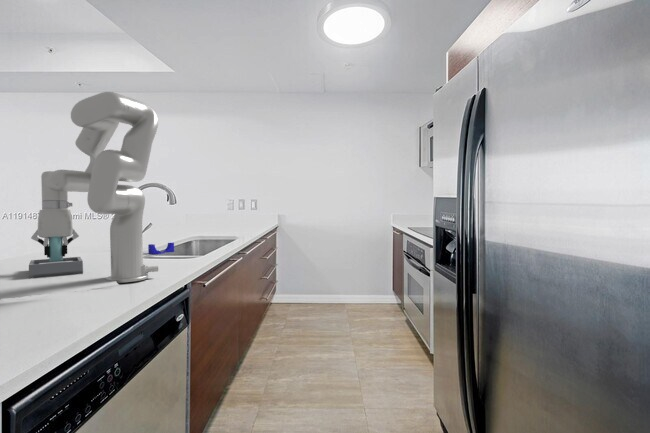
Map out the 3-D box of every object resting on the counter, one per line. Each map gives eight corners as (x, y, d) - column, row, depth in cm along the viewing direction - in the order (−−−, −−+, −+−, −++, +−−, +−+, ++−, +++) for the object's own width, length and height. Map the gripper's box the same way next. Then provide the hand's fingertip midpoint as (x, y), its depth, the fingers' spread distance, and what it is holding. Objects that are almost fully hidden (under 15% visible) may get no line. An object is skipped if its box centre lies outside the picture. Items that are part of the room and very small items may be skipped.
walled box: (80, 268, 145) (80, 256, 145) (82, 273, 132) (82, 260, 132) (31, 272, 136) (31, 260, 136) (29, 278, 123) (28, 265, 123)
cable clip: (153, 257, 179) (153, 244, 179) (148, 256, 182) (148, 244, 182) (175, 254, 189) (175, 242, 189) (170, 254, 192) (170, 242, 192)
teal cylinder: (62, 260, 137) (62, 235, 137) (63, 261, 133) (62, 236, 133) (49, 261, 134) (48, 236, 134) (49, 262, 131) (48, 236, 131)
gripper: (82, 206, 142) (82, 254, 142) (25, 206, 132) (27, 257, 132) (83, 205, 135) (84, 255, 136) (24, 205, 126) (25, 259, 126)
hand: (56, 256), depth 134 cm, fingers closed on teal cylinder, 4 cm apart
